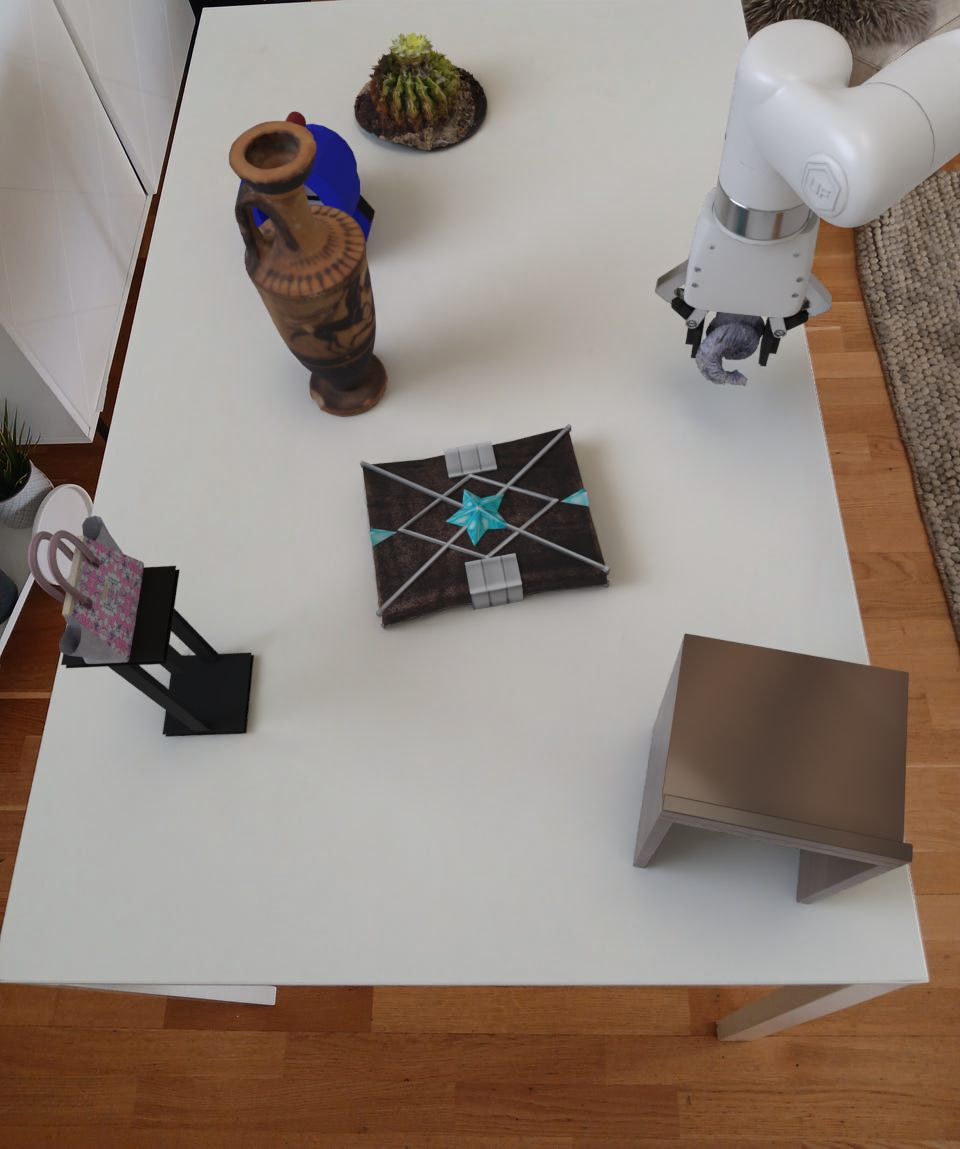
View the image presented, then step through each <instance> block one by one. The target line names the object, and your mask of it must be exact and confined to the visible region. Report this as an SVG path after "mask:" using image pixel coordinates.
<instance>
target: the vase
mask: <svg viewBox="0 0 960 1149" xmlns="http://www.w3.org/2000/svg"><path fill="white" fill-rule="evenodd" d="M316 149H317V145H316V142H315V141H314V139H313V135H312V133H311V132H310V131H309V130H307V128H305V127H303V126H301V125H298V124H295V123H292V122H288V121H285V120H271V121H265V122H260V123H258V124H255V125H254V126H252V127H250V128H248V129H246V130H245V131H243V132H242V133H241V134H240V135H239V136H237V138H236V139H235V140H234V141H233V142H232V144H231V145H230V149H229V153H228V165H229V166H230V168H231V170H232V171H233V173H234V174H235V175H236V176H237V177H238V178H239V179H240V181H241V180H242V181H243V183H242V185H241V187H240V189H239V188H238V191H239V192H238V191H237V196H236V201H235V205H234V218H235V220H236V223H237V225H238V228H239V233H240V235H241V238H242V240H243V243H244V246H245V249H244V265H245V271H246V274H247V276H248V277H249V279H250V281H251V282H252V284H253V285H254V288H255V289H256V291H257V292H258V295H259V297H260V299H261V301H262V302H263V305H264V306H265V309H266V310H267V312H268V314H269V316H270V318H271V320H272V323H273V324H274V326H275V328H276V330H277V332H278V334H279V336H280V337H281V339H282V340H283V342H284V344H285V345H286V347H287V348H288V349H289V351H290V352H291V354H292V355H293V356H294V357H295V358H296V360H298V361H299V362H300V364H301V365H302V366H303V367H304V368H305V369H307V370H308V371H309V372H311V374H310V378H309V384H308V385H309V393H310V397H311V399H313V400H314V401H316V402H317V404H318V405H319V407H320V410H321V411H322V412H325V413H328V414H330V415H333V416H339V417H348V416H354V415H358V414H361V413H364V412H365V411H368V410H370V409H371V408H373V407H374V406H376V404H378V402H379V401H380V400H381V399H382V397H383V396H384V393H385V391H386V389H387V385H388V374H387V370H386V368H385V366H384V364H383V363H382V361H381V359H380V358H379V357H378V356H377V355H376V354H374V349H375V342H376V334H377V317H376V307H375V306H376V304H375V299H374V292H373V285H372V278H371V273H370V268H369V262H368V253H367V242H365V236H364V233H363V231H362V229H361V227H360V225H359V224H358V223H357V221H356V220H355V219H354V218H352V217H351V216H350V215H348V214H347V213H345V212H343V211H342V210H340V209H337V208H334V207H330V206H325V205H309V203H308V199H307V195H306V192H305V187H304V183H305V182H306V181H307V179H308V178H309V176H310V174H311V172H312V169H313V165H314V161H315V157H316ZM252 207H255V208H257V209H259V210H261V211H263V212H264V213H265V214H266V215H267V216H268V217H269V219H267V220H266V221H265V222H264V223H263V224H262V225H261V226H259V227H258V226H257V225H256V223H255V220H254V215H253V210H252Z"/></svg>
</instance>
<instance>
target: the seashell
mask: <svg viewBox="0 0 960 1149" xmlns="http://www.w3.org/2000/svg"><path fill="white" fill-rule="evenodd" d="M715 312H716V311H715ZM765 324H766V322H765V320H764V317H763V316H753V315H743V314H733V313H724V312H716V313H715V317H713V318H712V320H711V321H710V322H709V324H708V325H707V328H706V330H705V338H704V339H703V340H702V341H701V344H700V346H699V348H698V351H697V352H698V353H697V355H696V358H694V360H695V364H696V368H697V369H698V370H699V372H700V373H701V375H702V376H703V377H704V379H705V380H706V381H709V382H711V383H713V384H715V385H717V386H719V385H722V386H724V385H726V384H729V385H732V386H743V387H746V385H747V382H748V380H749V379H748V378H747V377H746V376H745V375H744V374H743V373H741V372H739V370H738V369H734V370H732V371H729V370H725V369H724V367H723V358H724V359H725V360H729V361H741V360H746V359H748V358H749V357H752V355H754V354H755V352H756V351H757V350H758V347H759V345H760V343H761V339H762V335H763V334H764V329H765Z"/></svg>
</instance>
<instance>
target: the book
mask: <svg viewBox="0 0 960 1149" xmlns="http://www.w3.org/2000/svg"><path fill="white" fill-rule="evenodd" d="M571 432H572V425H571V424H570V423H568V424H567V425H565V427H561V428H557V429H554V430H549V431H545V432H542V433H537V434H533V435H529V436H525V437H522V438H518V439H513V440H509V441H505V442H500V443H495V444H493V442H492V440H489V441H483V442H478V443H477V442H476V443H473V444H466V445H461V446H457V447H456V446H455V447H451V448H446V449H443V453H444V454H441V455H438V456H431V457H427V458H421V459H410V460H400V461H391V462H379V463H369V462H367V461H364V460H360V461H359V465H360V468H362V475H363V483H364V492H365V499H366V508H367V516H368V517H367V518H368V523H369V530H368V534H369V538H370V542H371V548H372V558H373V564H374V574H375V583H376V584H375V585H376V592H377V602H378V603H377V604H378V609H377V610H376V611H375V614H376V615H377V617H378V618H381V622H382V623H380V625H381V627H382V629H384V630H386V629H388V627H389V626H390V625H393V624H396V623H400V622H403V621H406V620H410V619H414V618H417V617H420V616H423V615H428V614H430V613H434V612H437V611H441V610H445V609H447V608H453V607H459V606H464V605H470V604H472V607H473V610H474V611H475V610H481V609H485V608H491V607H497V606H501V605H507V604H513V603H517V602H522V601H523V602H524V596H525V595H531V594H537V593H542V592H543V593H544V592H551V591H561V590H569V589H580V588H587V587H596V586H597V587H598V586H603V587H605V588H609V587H610V585H611V580H610V579H608V576H609V574H610V572H611V567H609V566H607V565H606V563H605V560H604V555H603V552H602V549H601V545H600V542H599V538H598V534H597V531H596V527H595V523H594V520H593V516H592V513H591V512H592V511H591V509H590V508H591V507H590V504H589V497H588V491H587V490H586V488H585V486H584V483H583V482H584V481H583V478H582V475H581V471H580V467H579V464H578V460H577V456H576V452H575V449H574V445H573V441H572V437H571Z"/></svg>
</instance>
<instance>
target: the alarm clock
mask: <svg viewBox="0 0 960 1149" xmlns="http://www.w3.org/2000/svg"><path fill="white" fill-rule="evenodd" d="M284 121H288V122H292V123H295V124H298V125H301V126H303V127H305V128H307V130H309V131H310V132H311V133H312V135H313V139H314V141H315V142H316V145H317V149H316V157H315V161H314V165H313V169H312V172H311V174H310V176H309V178H308V179H307V181H306V182H305V183H304V187H305V192H306V195H307V199H308V203H309V205H325V206H330V207H334V208H337V209H340V210H342V211H343V212H345V213H347V214H348V215H350V216H351V217H352V218H354V219H355V220H356V221H357V223H358V224H359V225H360V227H361V229H362V231H363V233H364V236H365V242H366V243H367V242H368V238H369V235H370V232H371V227H372V224H373V220H374V217H375V213H376V210H375V209H374V208H373V207H372V206H371V204H370V203H369V202H368V201H367V200H366V198H364V196H363V195H362V194H361V179H360V176H359V173H358V163H357V162H358V161H357V160H356V156H355V153H354V150H352V148H351V146H350V145H349V143H348V142H347V141H346V139H344V137H343V136H341V135H340V134H339V133H338V132H337V131H334V130H333V129H330V128H329V127H327V126H325V125H322V124H317V123H307V120H306V117H305V116H304V114H302V113H301V112H299V111H291V112H289V114H288V115H287V116H286V118H285V120H284ZM242 183H243V181H242V180H241V179H240V182H239V187H238V191H237V193H238V192H239V189H240V187H241V185H242ZM252 210H253V215H254V220H255V223H256V225H257V226H258V227H259V226H261V225H262V224H263V223H264V222H265V221H266V220H267V219H269V217H268V216H267V215H266V214H265V213H264V212H263V211H261V210H259V209H257V208H255V207H252Z"/></svg>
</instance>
